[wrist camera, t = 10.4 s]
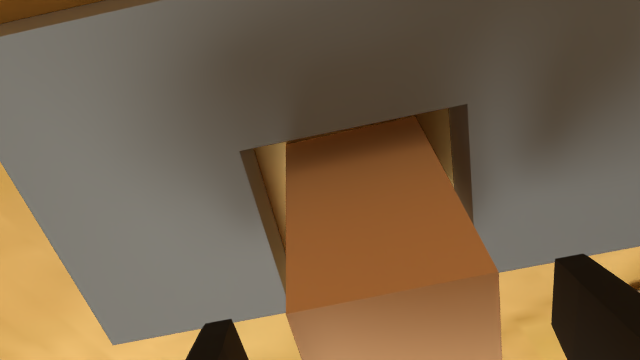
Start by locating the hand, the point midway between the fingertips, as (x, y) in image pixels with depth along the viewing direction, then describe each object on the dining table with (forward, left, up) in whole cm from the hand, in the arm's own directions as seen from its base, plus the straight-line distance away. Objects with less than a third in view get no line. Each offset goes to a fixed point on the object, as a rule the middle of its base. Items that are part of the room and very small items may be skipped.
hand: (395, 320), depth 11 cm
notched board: (0, -2, -6) cm, 6 cm away
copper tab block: (0, 0, -6) cm, 6 cm away
